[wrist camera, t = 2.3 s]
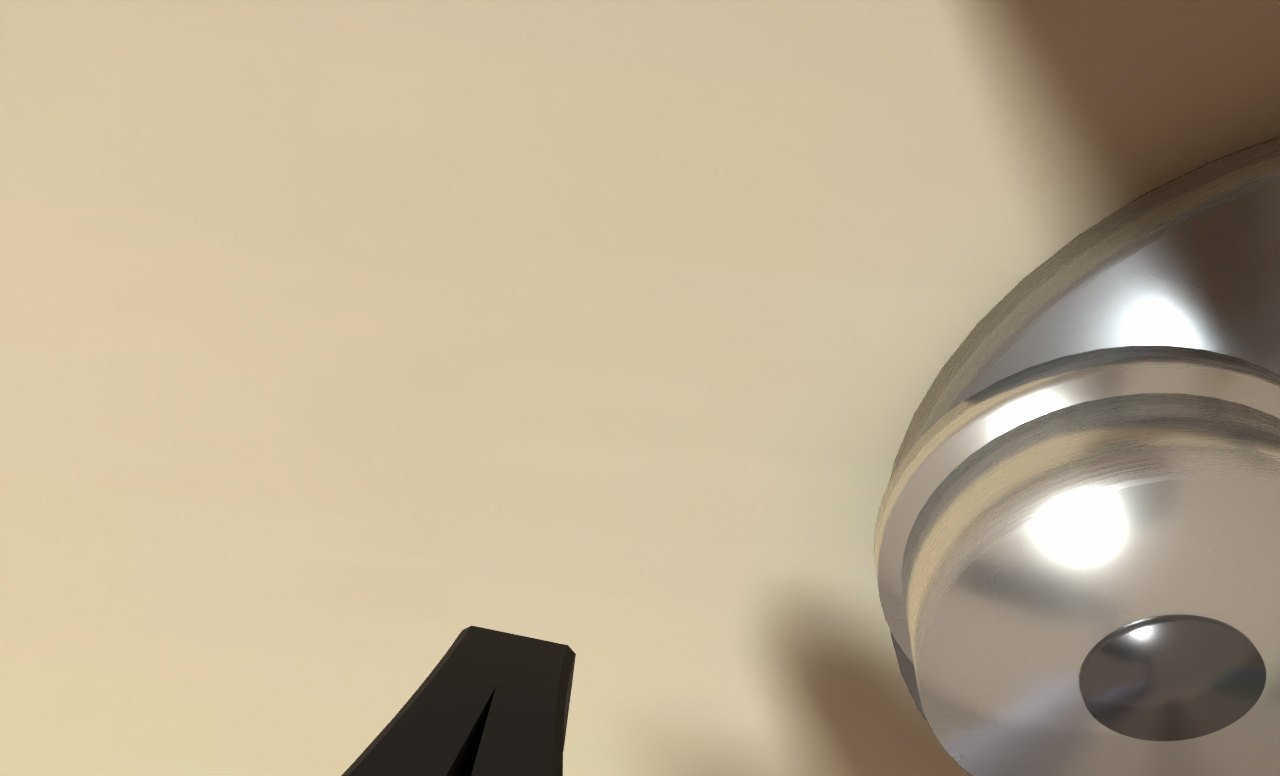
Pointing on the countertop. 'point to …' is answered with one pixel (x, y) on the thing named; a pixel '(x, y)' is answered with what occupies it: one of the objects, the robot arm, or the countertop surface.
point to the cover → (1096, 568)
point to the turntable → (1137, 290)
